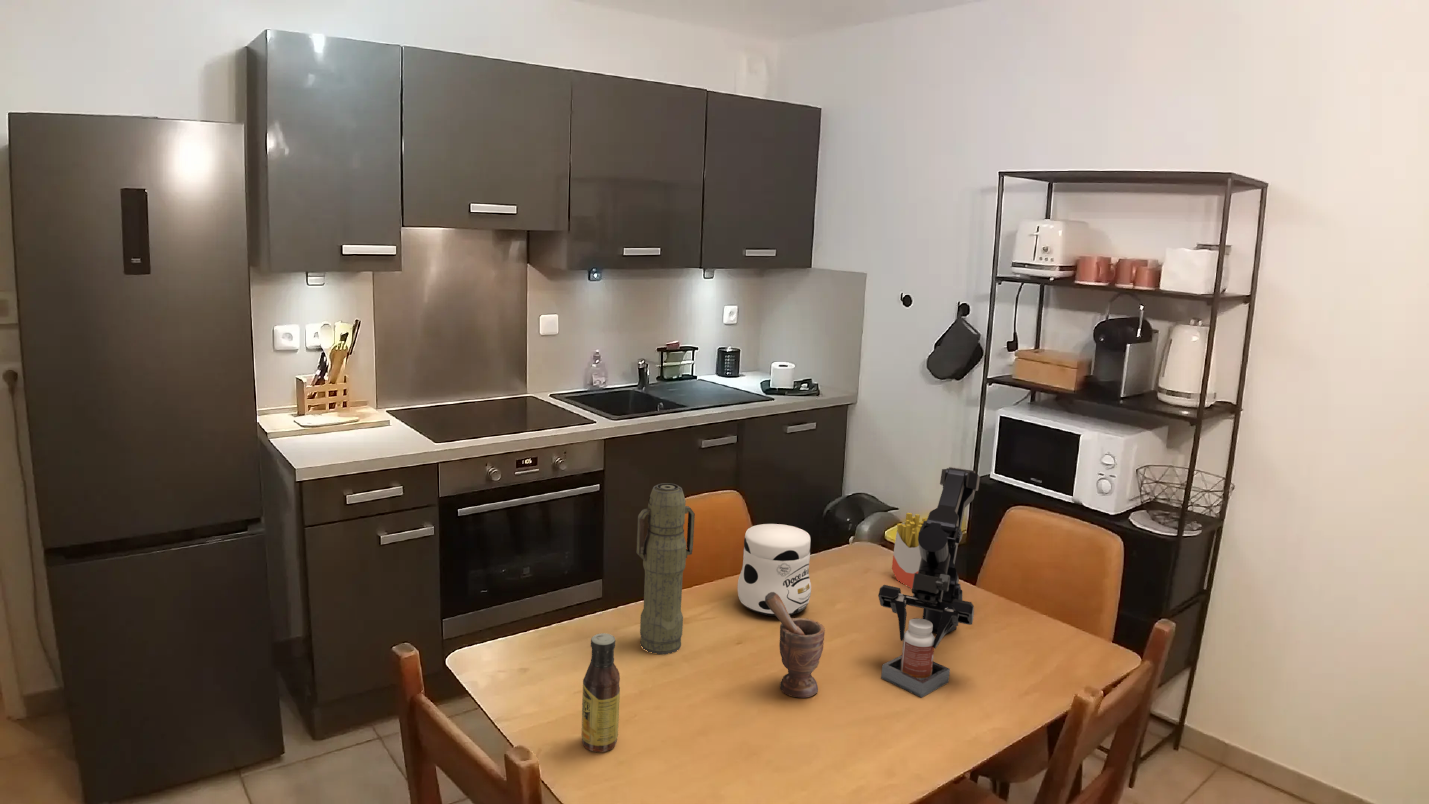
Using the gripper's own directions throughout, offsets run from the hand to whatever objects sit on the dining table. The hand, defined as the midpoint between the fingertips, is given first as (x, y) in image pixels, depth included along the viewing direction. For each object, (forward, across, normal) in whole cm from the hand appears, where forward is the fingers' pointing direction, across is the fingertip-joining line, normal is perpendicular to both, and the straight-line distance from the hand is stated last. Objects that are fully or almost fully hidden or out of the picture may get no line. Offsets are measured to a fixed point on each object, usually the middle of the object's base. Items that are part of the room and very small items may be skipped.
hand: (917, 644), depth 180 cm
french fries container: (-30, -10, +43) cm, 53 cm away
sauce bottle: (+40, -45, -28) cm, 66 cm away
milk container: (-8, -37, +21) cm, 44 cm away
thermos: (+13, -52, -1) cm, 53 cm away
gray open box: (+5, 0, +7) cm, 8 cm away
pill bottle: (+4, 0, +6) cm, 7 cm away
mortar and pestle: (+16, -21, -4) cm, 27 cm away
